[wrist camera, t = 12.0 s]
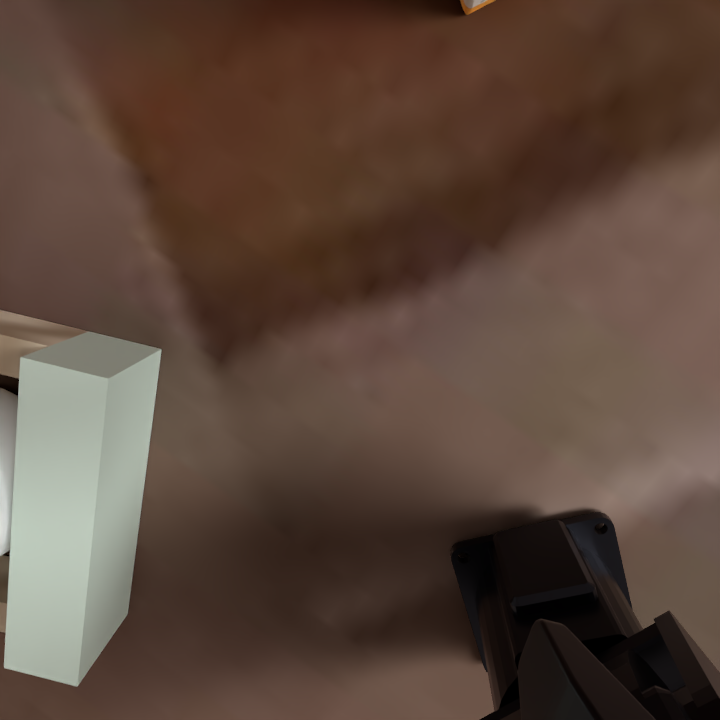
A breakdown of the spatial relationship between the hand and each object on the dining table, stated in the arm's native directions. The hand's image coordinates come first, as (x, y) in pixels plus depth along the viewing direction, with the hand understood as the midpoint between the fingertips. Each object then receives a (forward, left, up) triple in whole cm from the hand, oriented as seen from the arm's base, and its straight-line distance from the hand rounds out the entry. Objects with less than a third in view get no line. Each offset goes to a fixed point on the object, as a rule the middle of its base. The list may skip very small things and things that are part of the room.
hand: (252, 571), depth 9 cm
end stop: (-3, +11, -13) cm, 17 cm away
